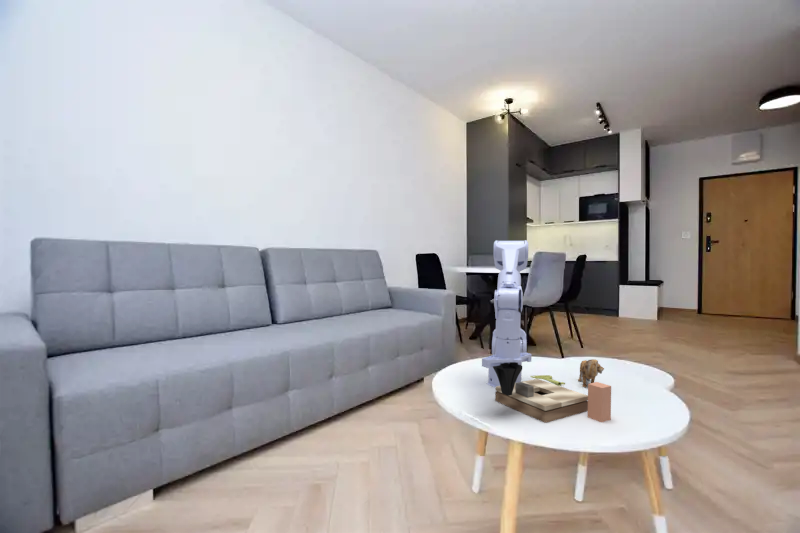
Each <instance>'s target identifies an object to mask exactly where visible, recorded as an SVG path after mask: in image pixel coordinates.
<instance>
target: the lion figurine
mask: <svg viewBox="0 0 800 533" xmlns="http://www.w3.org/2000/svg"><path fill="white" fill-rule="evenodd" d="M604 370H605V367H603V366H601V364H599V360H597V359H588V360H587V359H586V360H582V361H581V363H580V364H579V377H578V379H577V381H578V382H582V388H588V384H587V380H588V381H590V383H595V382H596V381H595V380H596V379H595V378H596V377H597V376H598V375H599V374H602V373H603V371H604Z"/></svg>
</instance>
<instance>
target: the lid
mask: <svg viewBox="0 0 800 533" xmlns="http://www.w3.org/2000/svg"><path fill="white" fill-rule="evenodd" d="M494 388H495V391H498V392H501V393H502V391H501V387H500V386H496V387H494ZM537 391H541V392H544V393H547V394H546V395H540V394H537V393H534V392H537ZM509 396H510V397H513V398H515V399H518V400H520V401H522V402H525V403H527V404H530V405H532V406H535V407H537V408H539V409H542V410H544V411H547V410H551V409H555V408H559V407H563V406H567V405H571V404H575V403H579V402H583V401H588V394H585V393H582V392H578V391H575V390H572V389H569V388H567V387H563V386H558V385H556V384H553V383H551V382H549V381H546V380H543V379H536V378H532V379H530V380H524V381H521V382H517V383H515V385H514V389H513V392H512V395H509Z"/></svg>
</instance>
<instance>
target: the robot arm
mask: <svg viewBox="0 0 800 533" xmlns="http://www.w3.org/2000/svg"><path fill="white" fill-rule="evenodd" d="M492 255H493V260H494V267H495V269H497V270H499V271H500V272H499V273H498V275H497V276H498V277H497V285H496V286H497V287H496V288H497V289H495V290H494V296H493V297H494V298H493V300H494V302H493V306H494V312H495V314H494V315H495V318H494V319H496V320H495V329H494V330H493V331H492V340H491V355H489V356H485V357H482V358H481V367H483V368H486V369H488V378H487V379H488V380H487V383H486V385H488V386H491V387H493V388H495V387H496V386H500V387H501V391H502V394H505V395H507V396H509V395H512V392H513V389H514V385H515V383H517V382H522V371H523V365H522V363H524V362H527V363H531V362H532V353H529V352H527V343H528V342H527V341H528V340H527V333H526V332H525V330H524V329H522V327H521V318H522V317H521V315H522V314H521V313H522V311H523V308H524V307H523V306H524V305H523V304H524V302H523V301H524V300H523V299H524V297H523V296H524V293H523V289H522V286H521V285H522V276H521V273H520V272H521V271H525V270H526V269H527V267H528V260H529V241H528V240H527V239H525V240H498V239H496V240H495V241H494V242H493V254H492ZM519 309H520V311H519Z"/></svg>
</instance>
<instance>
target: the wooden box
mask: <svg viewBox="0 0 800 533" xmlns="http://www.w3.org/2000/svg"><path fill="white" fill-rule="evenodd" d="M494 393H495V395H494V397H495V398H494V401H495V402H498V403H500V404H501V405H504V406H506V407H508V408H510V409H512V410H515V411H517V412H520V413H522V414H525V415H526V416H529V417H531V418H533V419H535V420H538V421H540V422H542V423H544V424H545V423H551V422H554V421H557V420H562V419H566V418H568V417H569V418H570V417H572V416H575V415H580V414H583V413H586V412H587V413H588V400H587V401H583V402H579V403H575V404H571V405H567V406H563V407H559V408H555V409H551V410H547V411H544V410H542V409H539V408H537V407H535V406H532V405H530V404H527V403H525V402H522V401H520V400H518V399H515V398H513V397H510V396H507V395H505V394H502V393H501V392H498V391H496V390H495V392H494ZM534 393H537V394H540V395H546V394H547V393H544V392H541V391H537V392H534Z"/></svg>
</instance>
